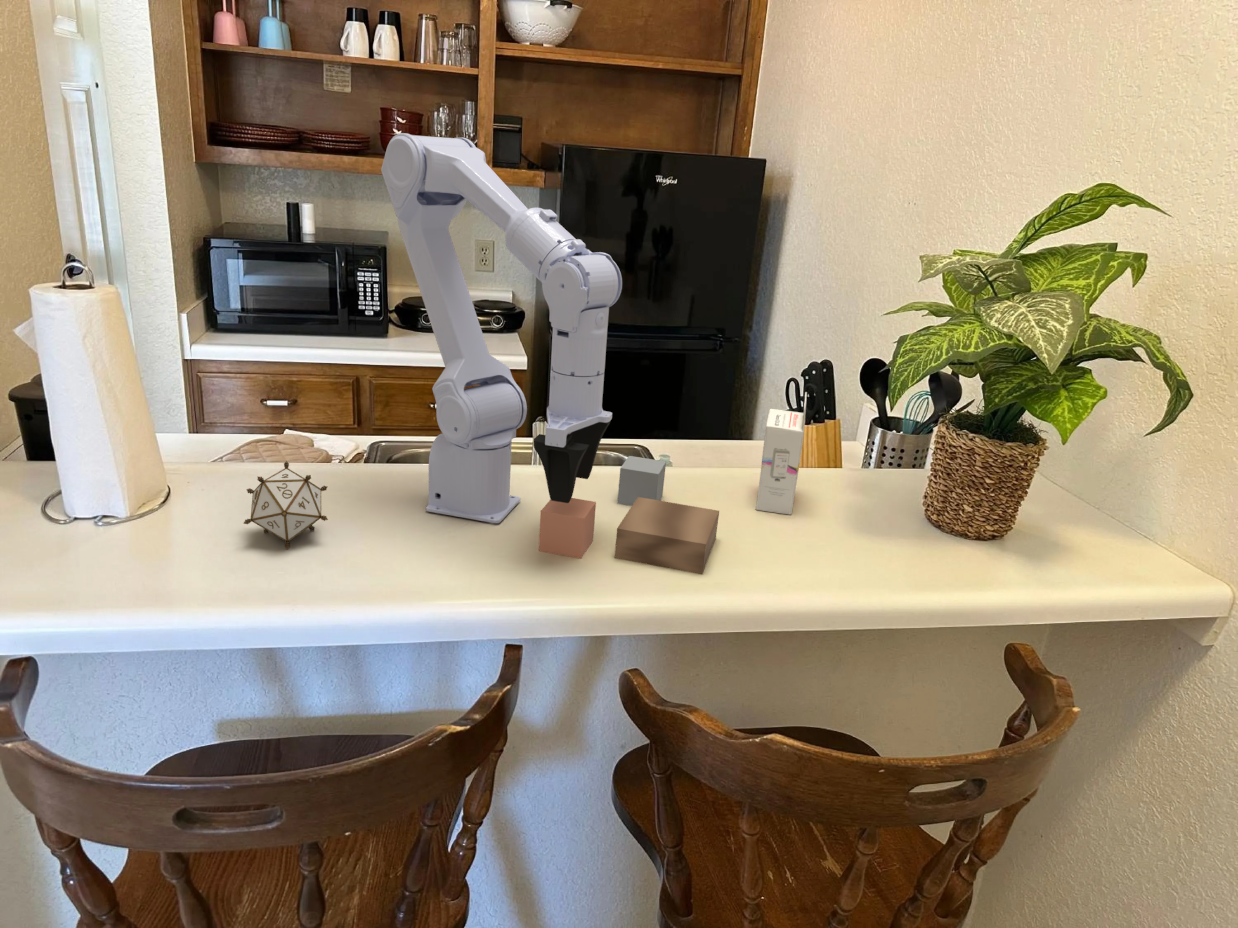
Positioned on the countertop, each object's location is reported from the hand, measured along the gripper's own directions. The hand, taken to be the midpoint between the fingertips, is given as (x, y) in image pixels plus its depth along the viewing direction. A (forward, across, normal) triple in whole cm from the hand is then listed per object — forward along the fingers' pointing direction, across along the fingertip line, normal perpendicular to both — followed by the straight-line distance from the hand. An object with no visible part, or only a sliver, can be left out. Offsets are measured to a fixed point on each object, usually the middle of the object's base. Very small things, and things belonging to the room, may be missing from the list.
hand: (570, 488), depth 98 cm
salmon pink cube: (+7, 0, 0) cm, 7 cm away
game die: (+7, -10, +29) cm, 32 cm away
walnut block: (+8, +4, -11) cm, 14 cm away
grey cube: (+7, +17, -5) cm, 19 cm away
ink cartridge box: (+7, +24, -22) cm, 33 cm away
